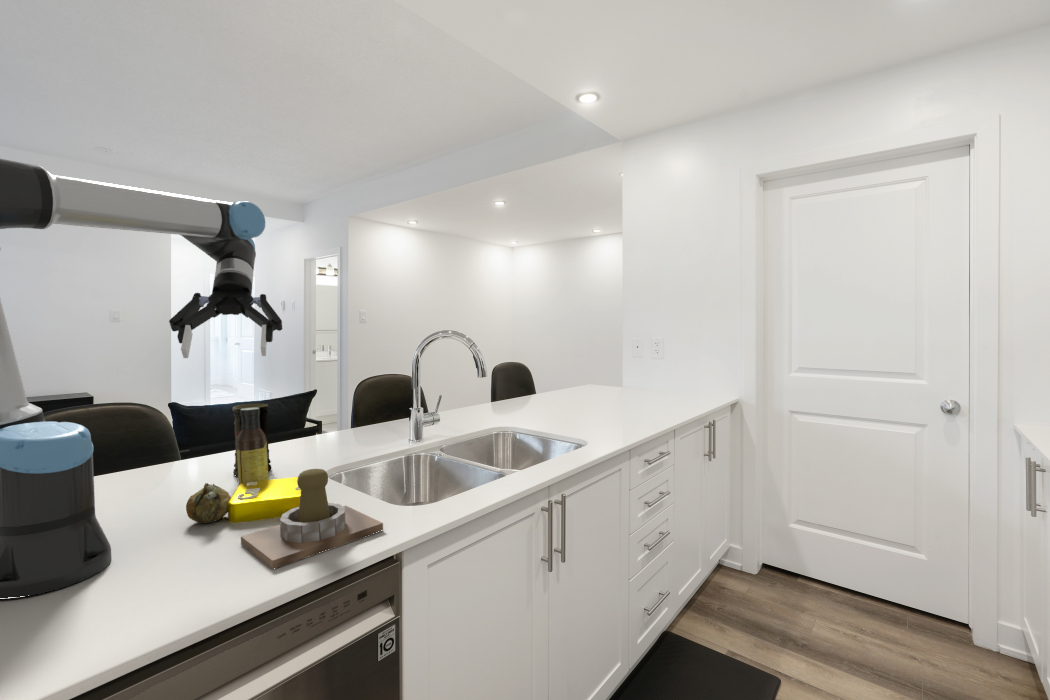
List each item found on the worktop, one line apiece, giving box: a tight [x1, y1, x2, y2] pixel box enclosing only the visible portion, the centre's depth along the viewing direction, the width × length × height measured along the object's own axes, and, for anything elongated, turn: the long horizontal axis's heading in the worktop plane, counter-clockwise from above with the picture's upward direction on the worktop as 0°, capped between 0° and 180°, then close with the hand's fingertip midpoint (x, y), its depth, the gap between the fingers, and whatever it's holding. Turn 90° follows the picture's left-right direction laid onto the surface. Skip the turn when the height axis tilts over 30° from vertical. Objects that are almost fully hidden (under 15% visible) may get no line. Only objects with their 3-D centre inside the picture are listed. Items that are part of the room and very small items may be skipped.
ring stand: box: [240, 502, 384, 570], centre depth 91 cm, size 20×14×4 cm
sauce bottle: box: [237, 408, 270, 486], centre depth 116 cm, size 6×6×20 cm
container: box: [232, 403, 272, 477], centre depth 132 cm, size 9×9×18 cm
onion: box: [185, 482, 232, 524], centre depth 100 cm, size 8×8×8 cm
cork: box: [297, 468, 330, 523], centre depth 91 cm, size 6×6×11 cm
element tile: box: [227, 476, 301, 524], centre depth 107 cm, size 15×15×5 cm
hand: (224, 352), depth 99 cm, fingers open, 13 cm apart
